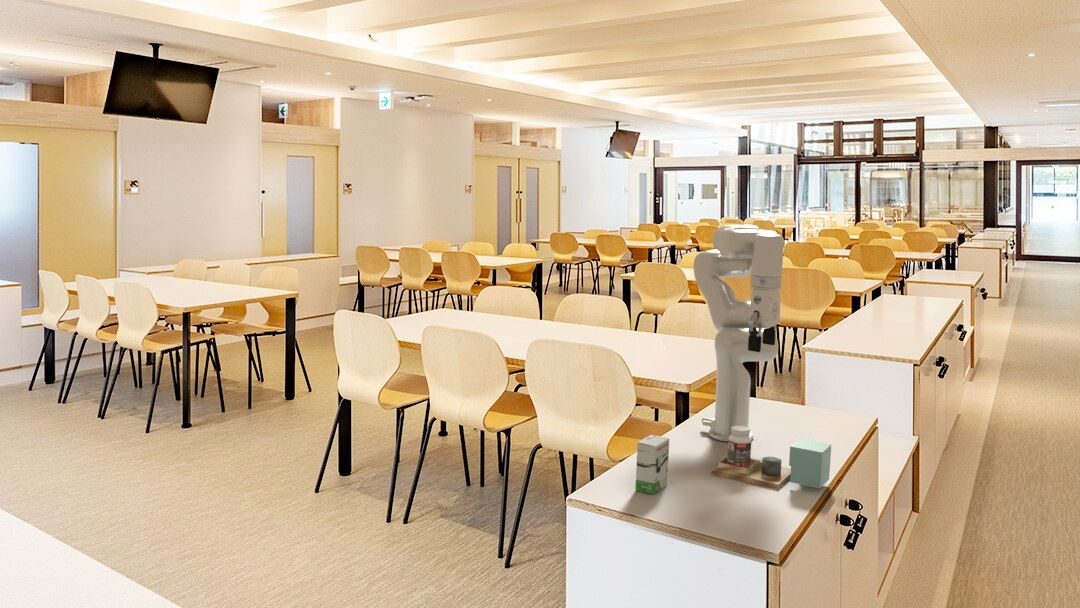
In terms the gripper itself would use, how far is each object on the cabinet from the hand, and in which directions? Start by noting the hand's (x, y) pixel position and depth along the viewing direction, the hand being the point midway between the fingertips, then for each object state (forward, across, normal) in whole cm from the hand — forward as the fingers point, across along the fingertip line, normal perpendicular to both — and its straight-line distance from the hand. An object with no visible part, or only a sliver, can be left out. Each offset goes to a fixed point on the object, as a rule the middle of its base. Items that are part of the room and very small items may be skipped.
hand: (761, 347), depth 215 cm
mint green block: (+28, -11, -18) cm, 35 cm away
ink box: (+30, -35, +11) cm, 48 cm away
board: (+30, -11, -4) cm, 32 cm away
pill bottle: (+29, -11, 0) cm, 31 cm away
